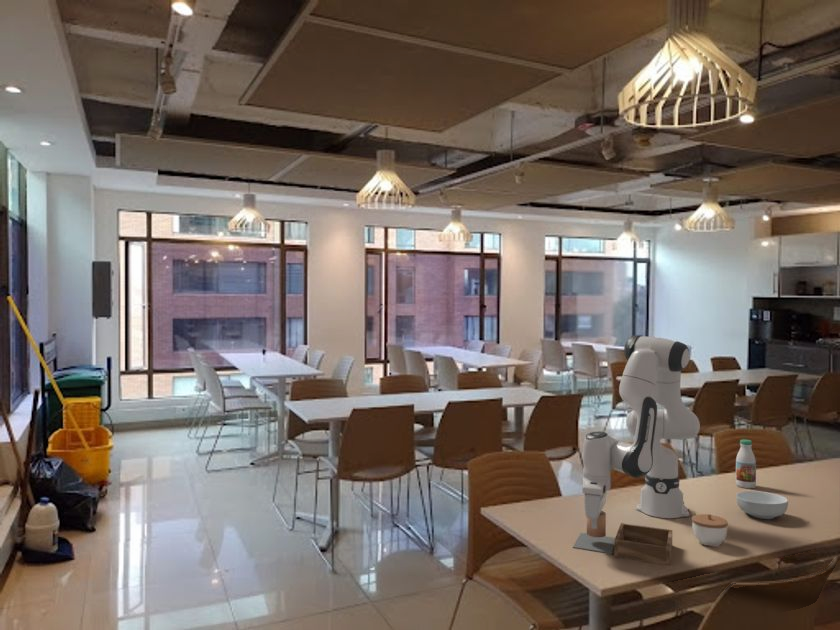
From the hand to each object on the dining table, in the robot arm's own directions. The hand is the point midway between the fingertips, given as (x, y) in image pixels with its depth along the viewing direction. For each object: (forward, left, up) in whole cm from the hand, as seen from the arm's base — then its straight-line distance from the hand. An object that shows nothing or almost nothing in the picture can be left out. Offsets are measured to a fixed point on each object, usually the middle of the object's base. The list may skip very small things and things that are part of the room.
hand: (596, 524), depth 204 cm
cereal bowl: (-54, +52, -7) cm, 75 cm away
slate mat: (0, 0, -6) cm, 6 cm away
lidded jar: (-16, +34, -7) cm, 38 cm away
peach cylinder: (0, 0, -3) cm, 3 cm away
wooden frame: (0, +15, -6) cm, 16 cm away
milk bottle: (-95, +49, -7) cm, 107 cm away
